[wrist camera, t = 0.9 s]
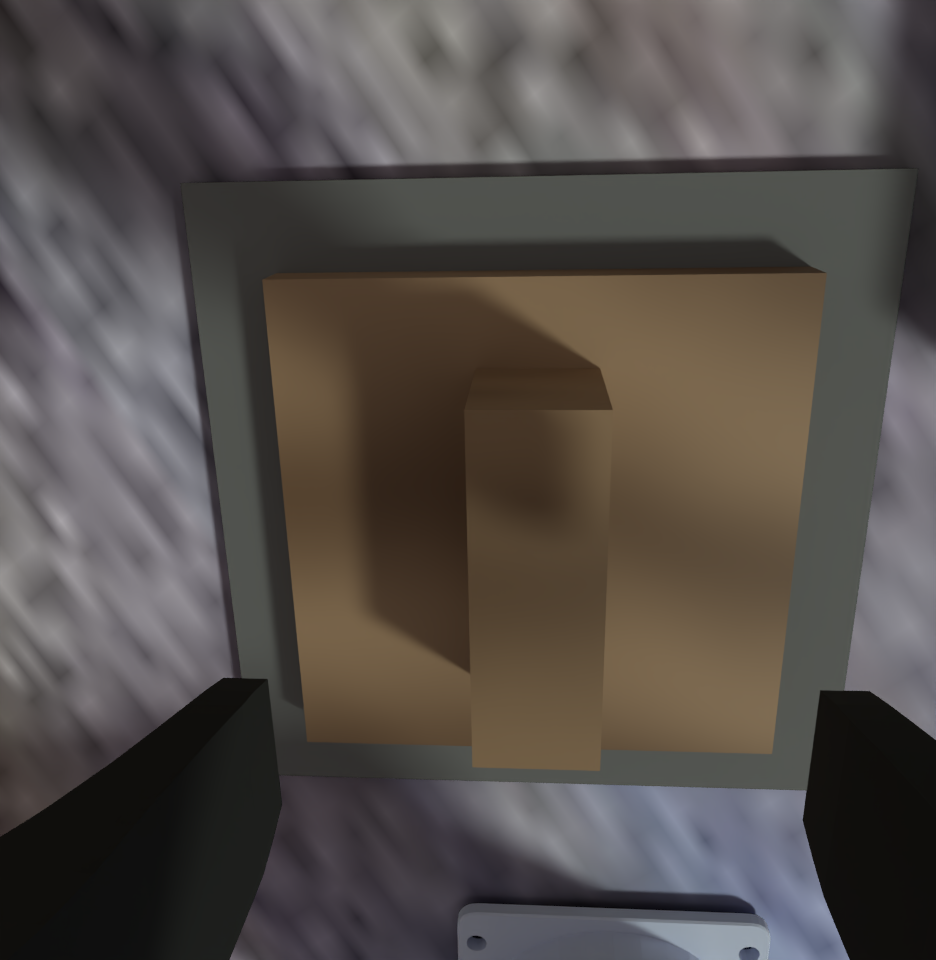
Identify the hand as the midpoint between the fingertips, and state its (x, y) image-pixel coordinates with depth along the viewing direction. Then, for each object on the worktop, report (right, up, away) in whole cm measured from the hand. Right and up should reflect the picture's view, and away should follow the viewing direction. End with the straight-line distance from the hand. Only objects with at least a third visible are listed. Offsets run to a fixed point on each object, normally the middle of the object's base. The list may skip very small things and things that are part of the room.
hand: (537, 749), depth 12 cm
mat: (+1, +3, +8) cm, 9 cm away
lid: (+1, +3, +8) cm, 8 cm away
